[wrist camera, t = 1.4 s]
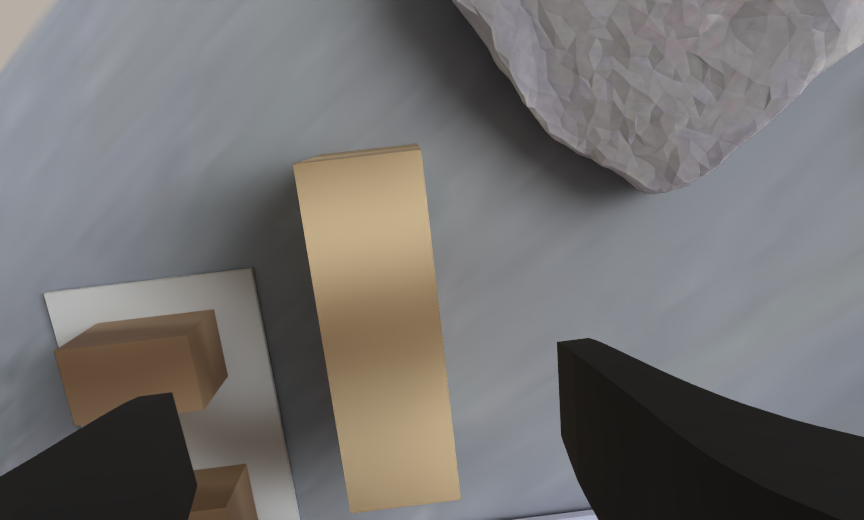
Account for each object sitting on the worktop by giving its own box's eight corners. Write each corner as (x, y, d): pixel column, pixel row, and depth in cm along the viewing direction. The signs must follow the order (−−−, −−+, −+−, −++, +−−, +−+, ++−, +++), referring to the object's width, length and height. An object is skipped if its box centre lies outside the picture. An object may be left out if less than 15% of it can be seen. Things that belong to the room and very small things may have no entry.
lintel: (448, 414, 21) (460, 499, 17) (363, 425, 21) (350, 513, 17) (417, 143, 19) (421, 149, 14) (321, 154, 19) (292, 164, 14)
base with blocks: (304, 541, 22) (291, 597, 20) (123, 564, 22) (84, 623, 19) (252, 267, 20) (228, 289, 17) (47, 292, 20) (-9, 317, 17)
